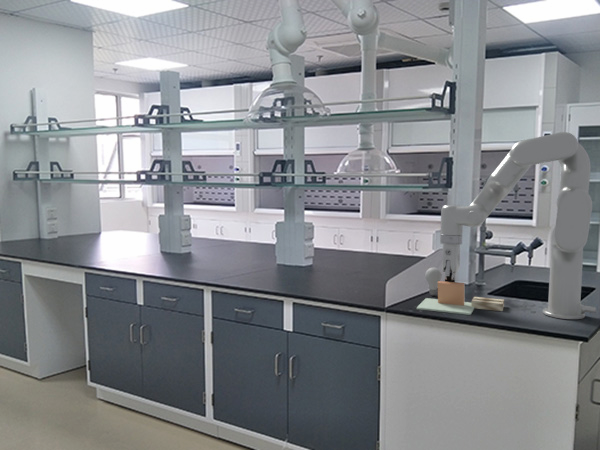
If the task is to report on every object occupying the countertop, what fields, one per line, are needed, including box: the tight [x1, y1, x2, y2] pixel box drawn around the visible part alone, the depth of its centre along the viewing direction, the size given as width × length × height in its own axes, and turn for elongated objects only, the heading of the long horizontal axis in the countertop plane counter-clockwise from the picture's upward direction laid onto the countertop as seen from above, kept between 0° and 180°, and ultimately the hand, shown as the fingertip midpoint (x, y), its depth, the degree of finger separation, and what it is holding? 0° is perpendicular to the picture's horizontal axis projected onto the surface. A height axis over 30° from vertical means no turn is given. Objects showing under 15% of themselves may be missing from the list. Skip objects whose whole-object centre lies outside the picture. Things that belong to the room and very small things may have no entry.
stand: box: [470, 296, 505, 312], centre depth 189 cm, size 10×7×2 cm
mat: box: [416, 297, 476, 316], centre depth 189 cm, size 18×16×1 cm
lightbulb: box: [424, 267, 443, 297], centre depth 206 cm, size 6×6×11 cm
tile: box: [437, 280, 466, 306], centre depth 190 cm, size 8×2×9 cm
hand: (449, 290), depth 192 cm, fingers closed
